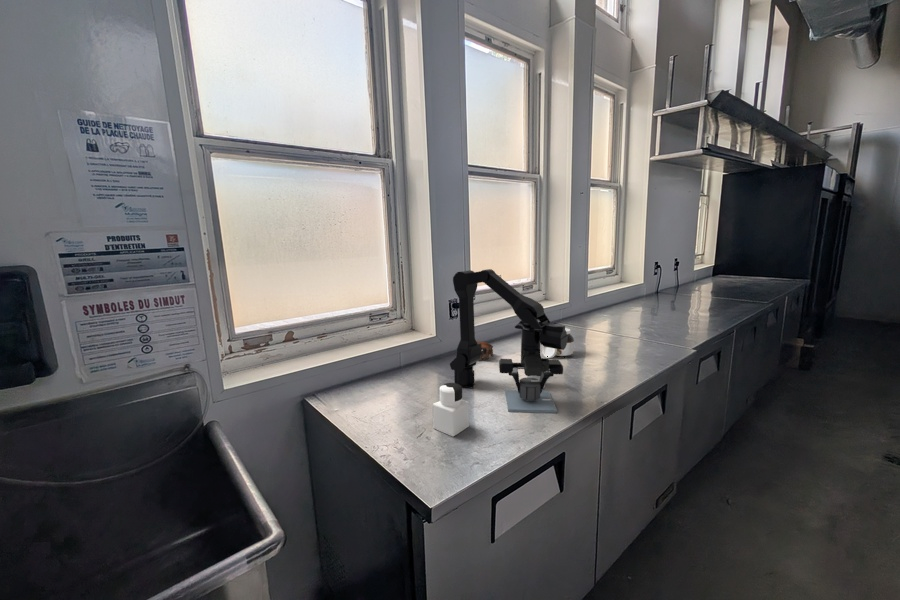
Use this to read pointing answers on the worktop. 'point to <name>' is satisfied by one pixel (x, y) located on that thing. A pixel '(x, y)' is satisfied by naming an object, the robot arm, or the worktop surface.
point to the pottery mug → (485, 350)
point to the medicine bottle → (451, 410)
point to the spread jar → (558, 352)
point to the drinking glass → (536, 376)
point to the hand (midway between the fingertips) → (529, 392)
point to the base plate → (530, 403)
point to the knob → (529, 388)
